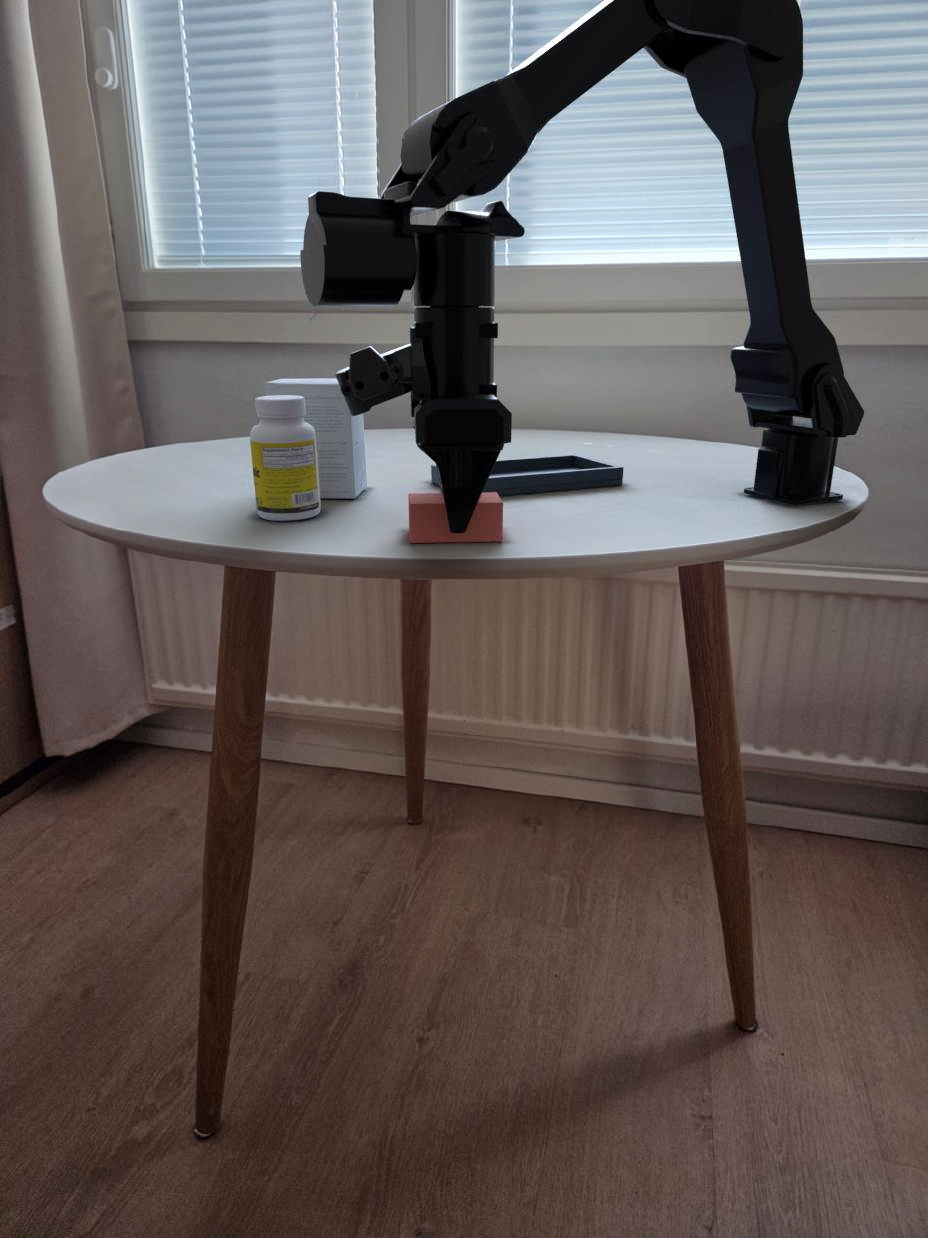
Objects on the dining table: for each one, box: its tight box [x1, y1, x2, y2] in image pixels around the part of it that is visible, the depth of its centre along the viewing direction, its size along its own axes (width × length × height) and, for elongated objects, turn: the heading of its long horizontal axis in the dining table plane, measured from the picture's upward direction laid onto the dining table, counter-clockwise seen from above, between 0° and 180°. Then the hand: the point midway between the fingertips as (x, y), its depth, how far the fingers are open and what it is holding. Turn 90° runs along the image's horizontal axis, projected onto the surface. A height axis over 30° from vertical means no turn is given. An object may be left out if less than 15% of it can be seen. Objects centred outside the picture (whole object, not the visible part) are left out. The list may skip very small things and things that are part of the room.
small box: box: [263, 377, 368, 500], centre depth 79 cm, size 8×6×10 cm
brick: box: [407, 492, 504, 544], centre depth 65 cm, size 7×4×3 cm, turn 94°
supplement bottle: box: [249, 395, 322, 522], centre depth 70 cm, size 5×5×10 cm
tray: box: [430, 453, 624, 497], centre depth 86 cm, size 17×9×2 cm, turn 114°
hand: (454, 523), depth 65 cm, fingers open, 6 cm apart
